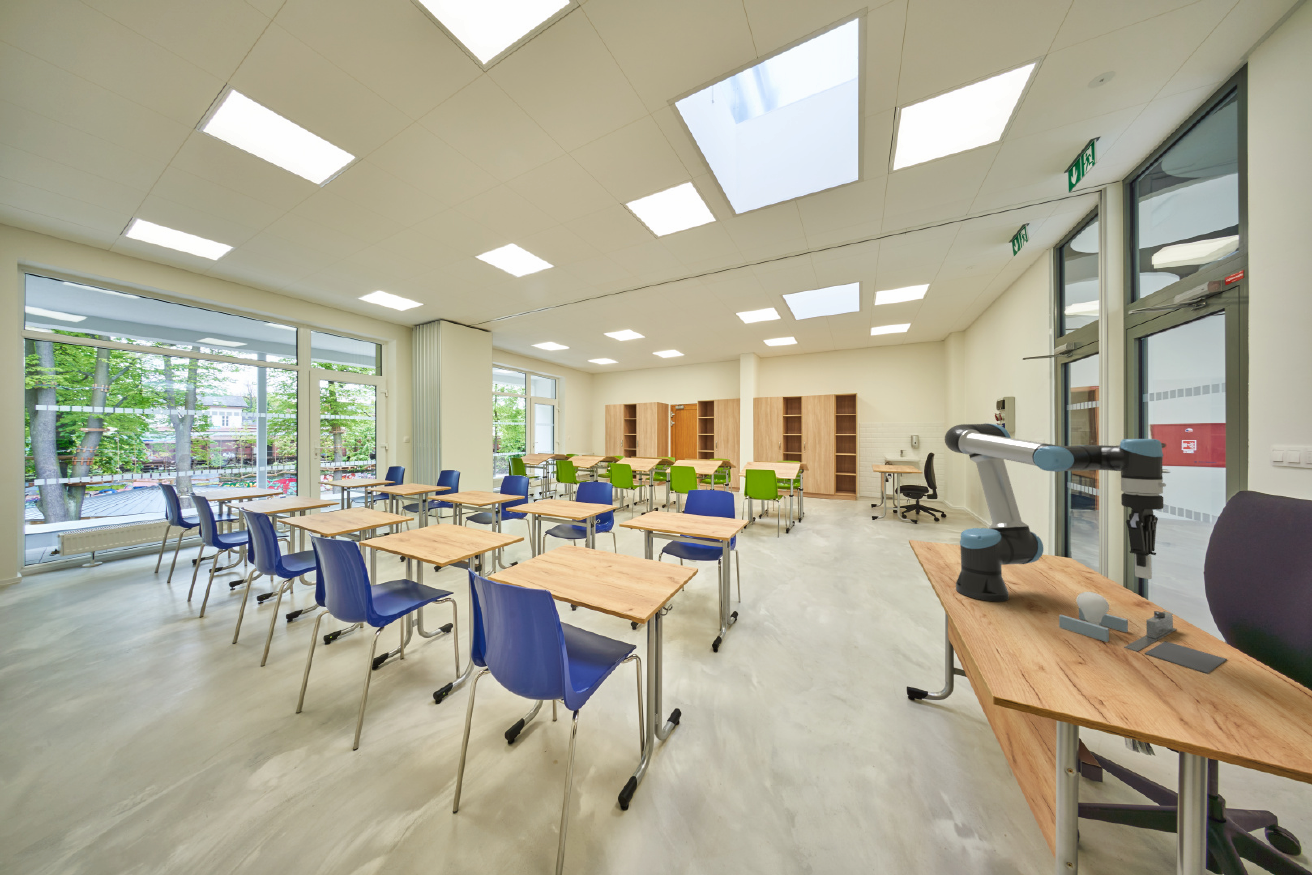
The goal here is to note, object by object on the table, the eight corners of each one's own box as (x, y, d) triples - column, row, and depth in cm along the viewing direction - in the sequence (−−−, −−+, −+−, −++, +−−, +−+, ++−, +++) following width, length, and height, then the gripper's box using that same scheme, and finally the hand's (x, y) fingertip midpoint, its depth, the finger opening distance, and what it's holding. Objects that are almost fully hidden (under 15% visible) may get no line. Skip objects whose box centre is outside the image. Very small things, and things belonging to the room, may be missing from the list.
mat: (1144, 654, 106) (1144, 652, 106) (1165, 642, 111) (1165, 641, 111) (1207, 673, 96) (1207, 672, 96) (1226, 659, 102) (1226, 658, 102)
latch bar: (1145, 635, 114) (1145, 615, 114) (1163, 626, 120) (1162, 606, 120) (1156, 638, 113) (1155, 618, 113) (1174, 629, 118) (1173, 609, 118)
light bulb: (1117, 634, 116) (1116, 596, 116) (1093, 634, 116) (1092, 596, 116) (1092, 624, 123) (1091, 588, 123) (1070, 624, 123) (1069, 588, 123)
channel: (1059, 627, 121) (1058, 615, 121) (1081, 617, 127) (1080, 606, 127) (1106, 642, 112) (1106, 629, 112) (1128, 631, 118) (1127, 619, 118)
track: (1124, 647, 109) (1124, 646, 109) (1164, 626, 120) (1164, 625, 120) (1137, 651, 107) (1137, 650, 107) (1176, 629, 118) (1176, 628, 118)
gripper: (1152, 497, 106) (1154, 585, 106) (1171, 493, 111) (1173, 577, 111) (1112, 493, 113) (1113, 576, 113) (1131, 490, 118) (1133, 569, 118)
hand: (1143, 577), depth 112 cm, fingers closed
